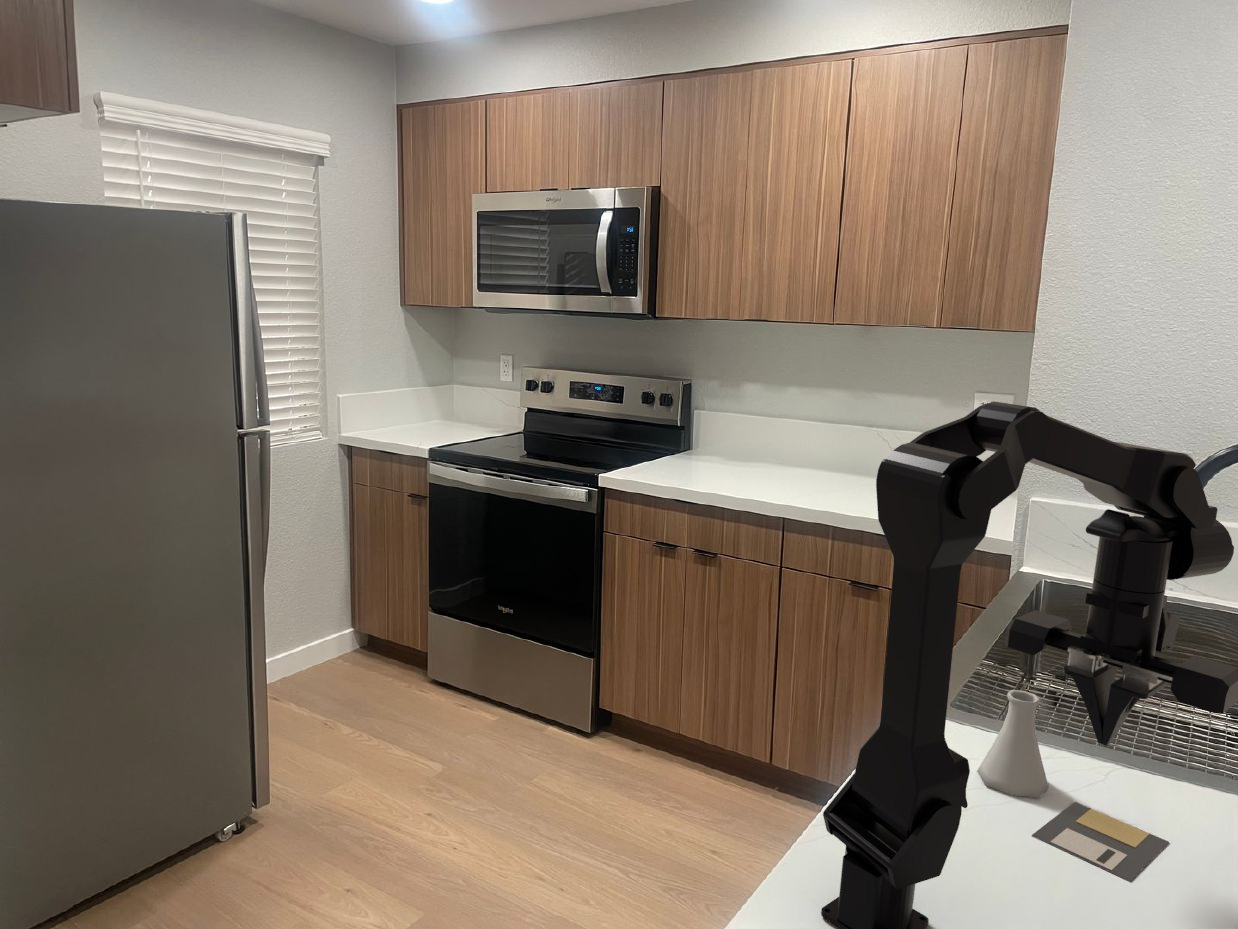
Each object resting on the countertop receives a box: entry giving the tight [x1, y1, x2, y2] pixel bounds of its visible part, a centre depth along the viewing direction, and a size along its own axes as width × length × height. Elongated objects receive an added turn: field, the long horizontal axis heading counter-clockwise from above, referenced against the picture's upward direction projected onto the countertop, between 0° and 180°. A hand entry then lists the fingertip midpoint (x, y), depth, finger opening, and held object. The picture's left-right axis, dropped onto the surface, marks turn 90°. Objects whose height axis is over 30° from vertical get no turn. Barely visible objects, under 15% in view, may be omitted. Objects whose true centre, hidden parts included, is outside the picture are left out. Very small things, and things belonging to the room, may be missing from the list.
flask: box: [976, 689, 1049, 798], centre depth 98 cm, size 7×7×10 cm
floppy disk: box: [1031, 801, 1170, 882], centre depth 89 cm, size 10×9×1 cm
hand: (1104, 743), depth 85 cm, fingers closed
